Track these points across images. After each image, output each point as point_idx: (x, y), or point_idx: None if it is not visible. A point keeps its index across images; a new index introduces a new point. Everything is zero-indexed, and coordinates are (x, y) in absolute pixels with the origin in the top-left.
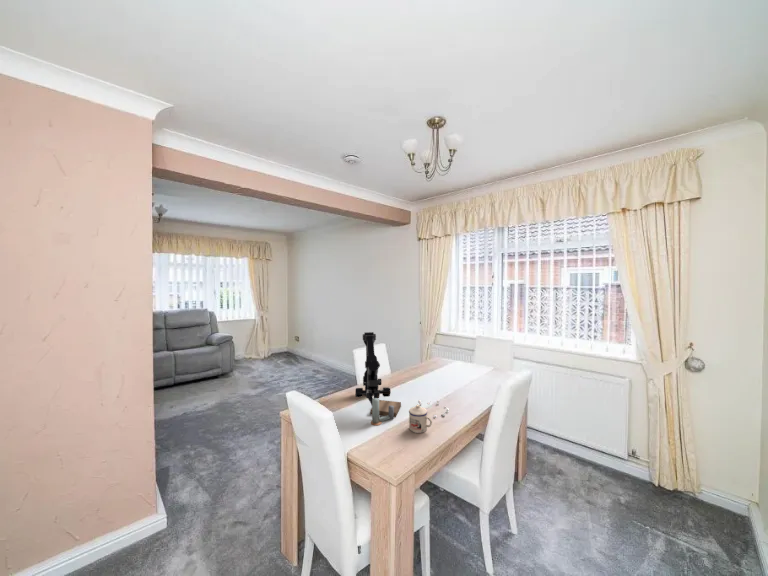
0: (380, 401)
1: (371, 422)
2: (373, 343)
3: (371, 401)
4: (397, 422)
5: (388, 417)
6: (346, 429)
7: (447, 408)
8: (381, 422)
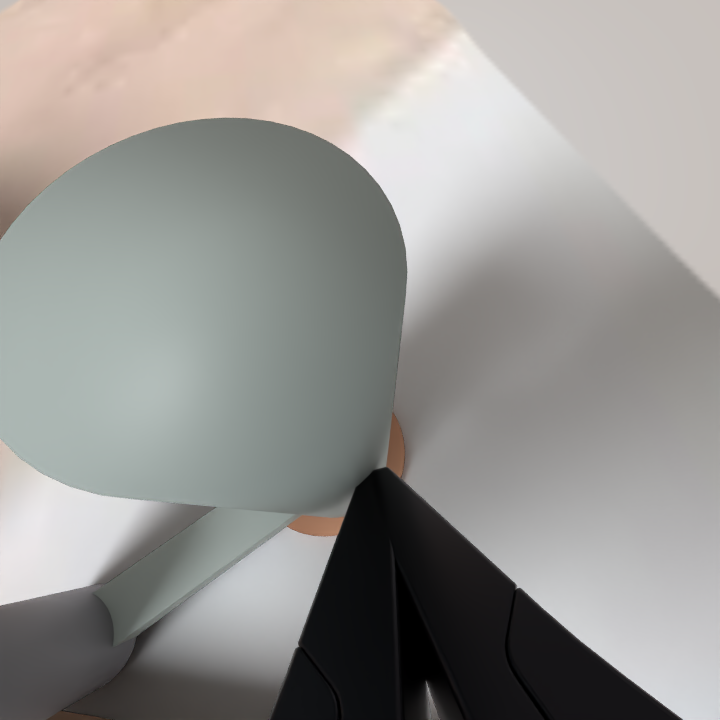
0: None
1: (393, 438)
2: None
3: (484, 581)
4: (27, 512)
5: (125, 571)
6: (643, 251)
7: None
8: None
